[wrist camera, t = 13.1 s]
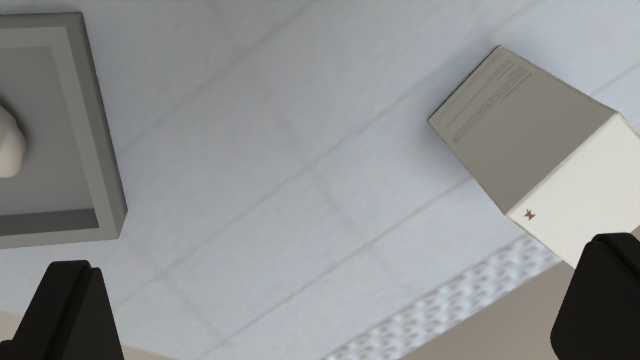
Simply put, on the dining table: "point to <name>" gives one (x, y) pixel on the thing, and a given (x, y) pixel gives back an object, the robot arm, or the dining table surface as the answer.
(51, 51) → the tray
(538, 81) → the supplement box
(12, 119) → the beige rounded piece
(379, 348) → the dining table surface
